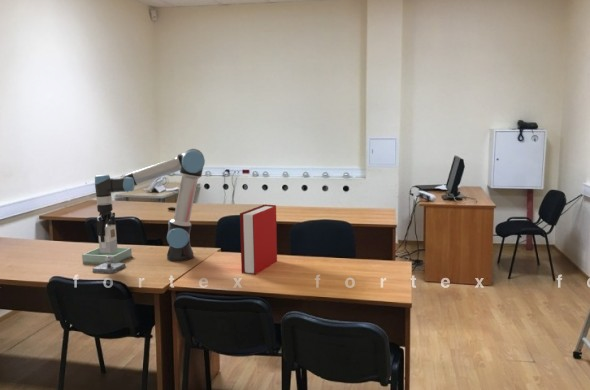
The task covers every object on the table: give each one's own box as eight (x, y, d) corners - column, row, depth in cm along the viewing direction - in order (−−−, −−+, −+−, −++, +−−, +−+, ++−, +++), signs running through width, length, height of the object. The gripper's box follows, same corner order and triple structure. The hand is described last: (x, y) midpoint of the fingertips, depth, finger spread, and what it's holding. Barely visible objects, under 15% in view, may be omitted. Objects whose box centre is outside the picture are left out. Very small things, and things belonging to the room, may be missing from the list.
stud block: (125, 266, 274) (124, 253, 273) (112, 273, 263) (111, 259, 262) (106, 265, 277) (105, 252, 276) (92, 272, 266) (91, 258, 265)
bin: (131, 256, 295) (131, 248, 294) (113, 265, 277) (113, 256, 276) (102, 254, 299) (101, 246, 299) (82, 263, 282) (82, 254, 281)
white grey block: (107, 249, 272) (104, 224, 270) (118, 249, 271) (115, 224, 268) (100, 252, 266) (97, 227, 264) (111, 253, 265) (108, 227, 262)
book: (255, 275, 258) (253, 214, 253) (241, 273, 261) (239, 213, 256) (278, 260, 282) (277, 205, 277) (265, 259, 286) (264, 204, 281)
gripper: (109, 200, 274) (112, 241, 278) (86, 207, 256) (90, 250, 260) (121, 200, 273) (124, 241, 276) (99, 207, 254) (103, 251, 258)
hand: (108, 245), depth 268 cm, fingers closed on white grey block, 6 cm apart
